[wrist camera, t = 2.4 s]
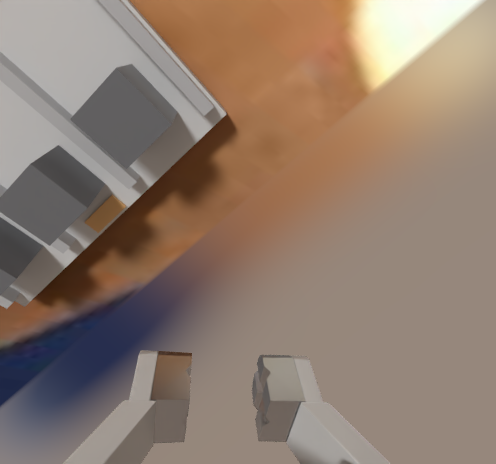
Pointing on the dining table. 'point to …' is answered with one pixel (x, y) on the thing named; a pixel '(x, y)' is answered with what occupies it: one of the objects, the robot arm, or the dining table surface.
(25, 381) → the dining table surface
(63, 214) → the grey cubic block
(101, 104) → the grey cube
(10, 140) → the switch board
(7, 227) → the gray cube
